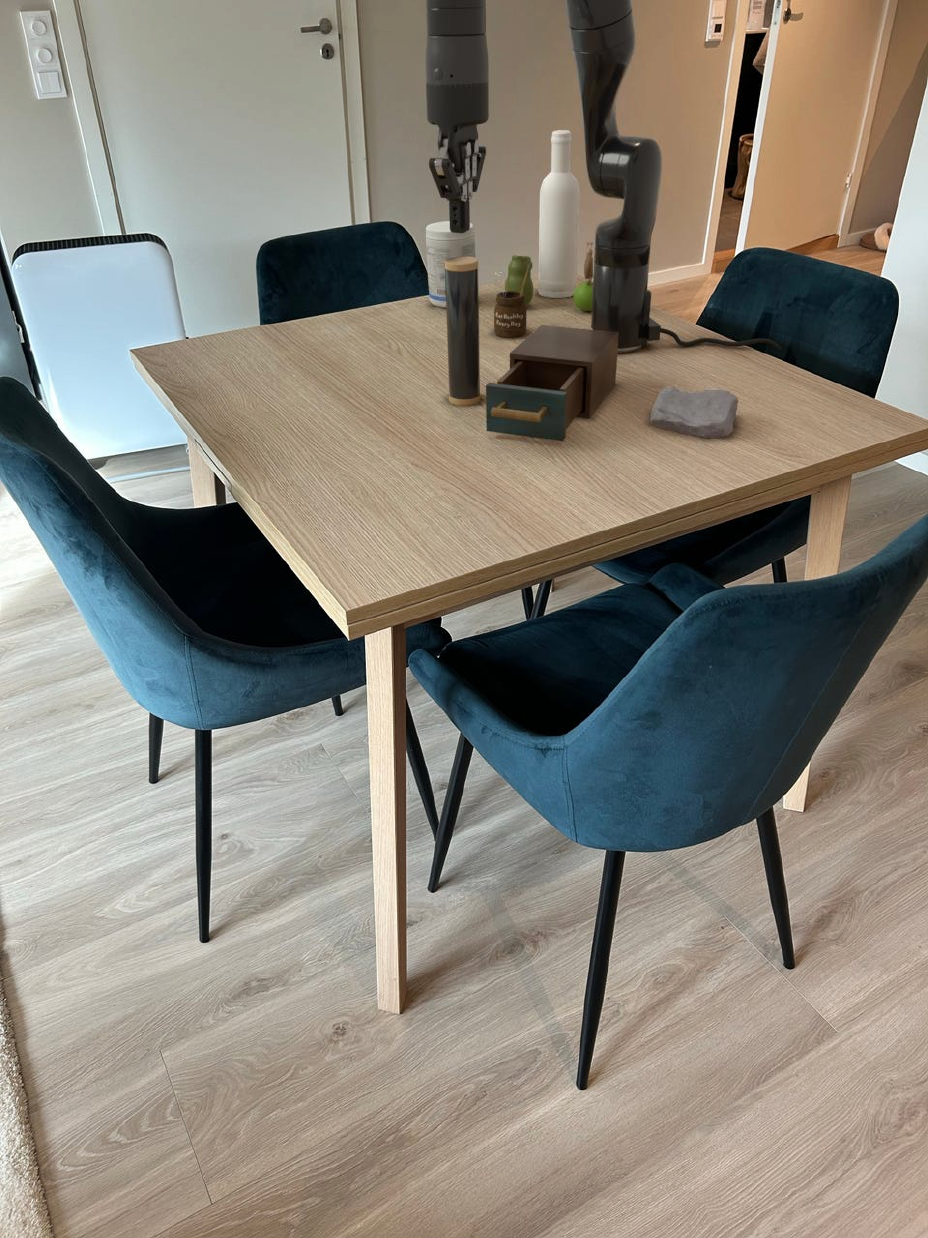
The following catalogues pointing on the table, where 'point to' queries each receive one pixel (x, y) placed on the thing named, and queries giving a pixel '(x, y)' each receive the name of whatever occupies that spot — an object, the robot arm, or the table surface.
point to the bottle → (559, 223)
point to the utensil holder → (510, 312)
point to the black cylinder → (463, 329)
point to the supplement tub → (444, 255)
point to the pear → (520, 277)
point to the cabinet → (575, 357)
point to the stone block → (695, 412)
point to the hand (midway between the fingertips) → (459, 231)
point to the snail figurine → (585, 284)
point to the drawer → (536, 399)
